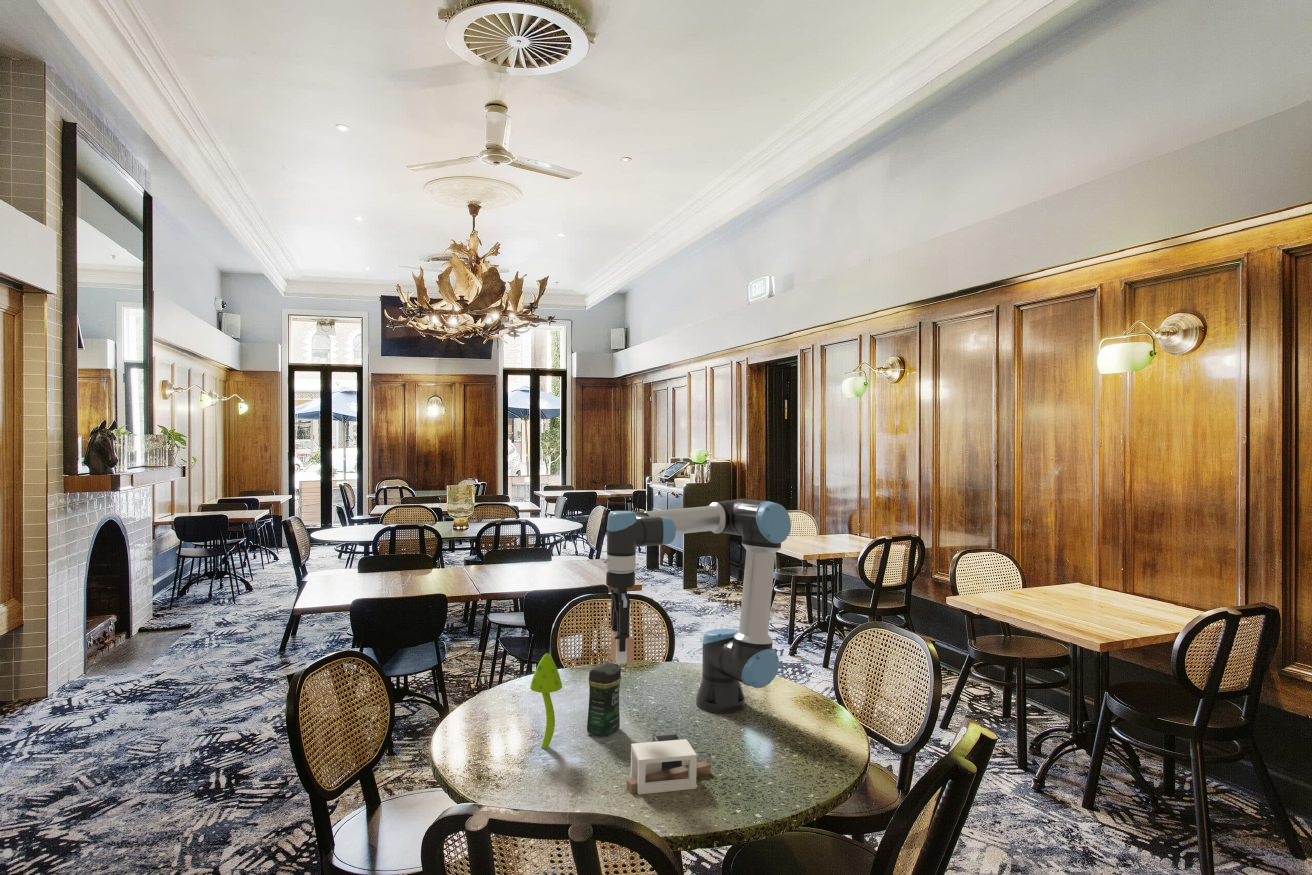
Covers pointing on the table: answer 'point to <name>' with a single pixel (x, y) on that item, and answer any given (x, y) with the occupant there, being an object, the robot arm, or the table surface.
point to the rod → (670, 775)
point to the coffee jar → (604, 700)
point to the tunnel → (663, 763)
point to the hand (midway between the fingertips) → (619, 659)
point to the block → (629, 648)
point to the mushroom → (547, 691)
